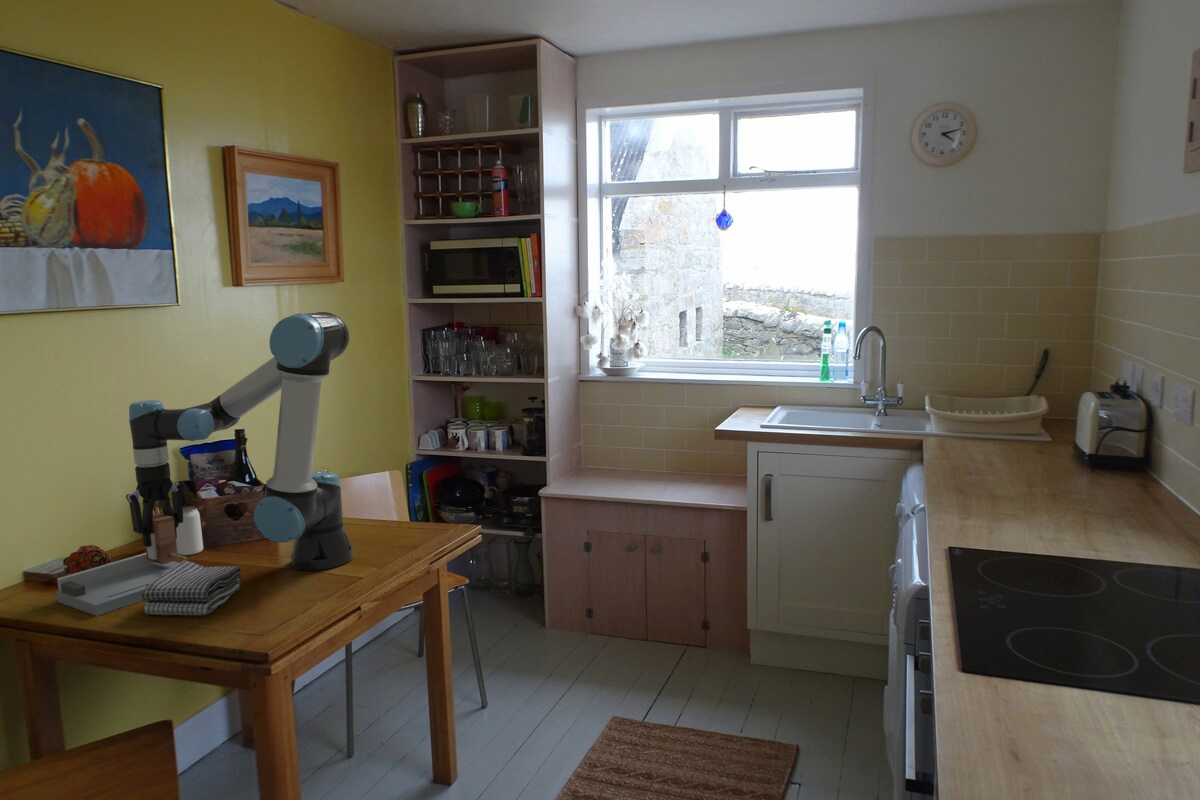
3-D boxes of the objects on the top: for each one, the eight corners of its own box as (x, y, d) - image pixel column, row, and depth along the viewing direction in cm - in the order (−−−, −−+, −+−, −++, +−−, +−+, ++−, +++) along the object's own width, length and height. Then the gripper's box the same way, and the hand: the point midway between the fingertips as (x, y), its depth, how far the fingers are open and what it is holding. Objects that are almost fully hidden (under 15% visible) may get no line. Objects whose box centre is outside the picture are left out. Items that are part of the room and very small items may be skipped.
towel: (141, 620, 189) (137, 585, 188) (185, 589, 207) (181, 558, 206) (209, 618, 188) (206, 583, 187) (247, 588, 206) (244, 556, 205)
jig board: (206, 579, 213) (203, 557, 212) (97, 616, 191) (93, 592, 191) (165, 568, 223) (163, 547, 222) (57, 601, 201) (54, 579, 200)
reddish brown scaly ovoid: (111, 583, 218) (69, 589, 220) (124, 555, 224) (83, 561, 226) (89, 563, 212) (47, 570, 214) (104, 535, 218) (62, 542, 220)
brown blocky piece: (193, 563, 212) (188, 520, 210) (177, 568, 209) (172, 524, 207) (162, 555, 220) (157, 513, 218) (147, 560, 216) (142, 517, 215)
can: (207, 551, 236) (202, 508, 234) (183, 557, 231) (178, 513, 229) (197, 546, 240) (192, 504, 238) (173, 552, 235) (168, 510, 234)
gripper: (176, 455, 221) (186, 544, 225) (108, 469, 207) (119, 563, 211) (193, 458, 217) (202, 548, 221) (125, 472, 203) (136, 568, 207)
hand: (162, 555), depth 216 cm, fingers closed on brown blocky piece, 4 cm apart
